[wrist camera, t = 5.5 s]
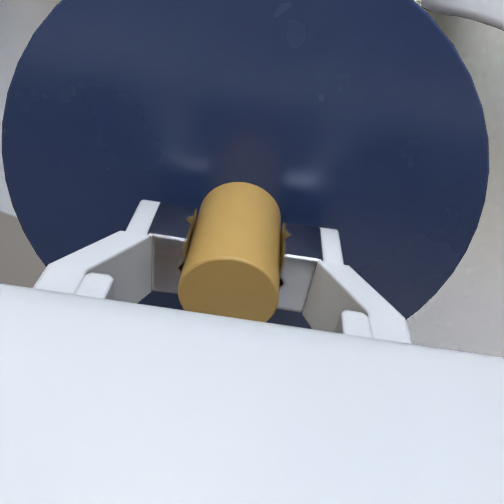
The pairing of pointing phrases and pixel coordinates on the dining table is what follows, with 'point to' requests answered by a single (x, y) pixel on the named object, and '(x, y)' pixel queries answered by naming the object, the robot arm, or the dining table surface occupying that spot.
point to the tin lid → (251, 140)
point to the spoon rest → (470, 10)
